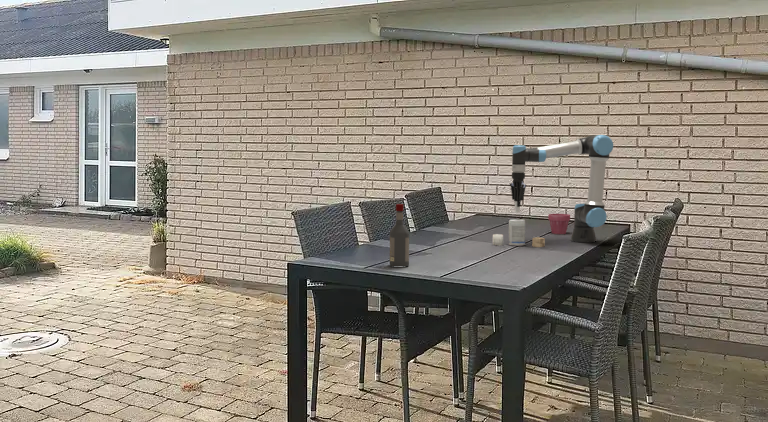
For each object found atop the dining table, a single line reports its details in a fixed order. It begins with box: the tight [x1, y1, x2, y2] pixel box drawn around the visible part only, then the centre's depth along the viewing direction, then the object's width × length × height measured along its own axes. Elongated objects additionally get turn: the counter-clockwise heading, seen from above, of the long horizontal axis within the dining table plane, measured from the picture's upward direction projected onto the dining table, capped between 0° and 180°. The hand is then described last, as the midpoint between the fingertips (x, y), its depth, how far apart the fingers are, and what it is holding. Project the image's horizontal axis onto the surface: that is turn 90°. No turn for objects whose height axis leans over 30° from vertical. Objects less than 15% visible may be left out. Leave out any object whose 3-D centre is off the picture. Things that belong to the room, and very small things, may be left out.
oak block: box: [531, 236, 546, 248], centre depth 415 cm, size 5×5×5 cm
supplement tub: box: [508, 219, 526, 247], centre depth 420 cm, size 10×10×15 cm
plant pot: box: [547, 213, 571, 235], centre depth 474 cm, size 14×14×13 cm
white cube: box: [492, 233, 504, 247], centre depth 420 cm, size 6×6×6 cm
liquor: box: [389, 203, 410, 267], centre depth 345 cm, size 9×9×30 cm
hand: (517, 212), depth 418 cm, fingers closed
